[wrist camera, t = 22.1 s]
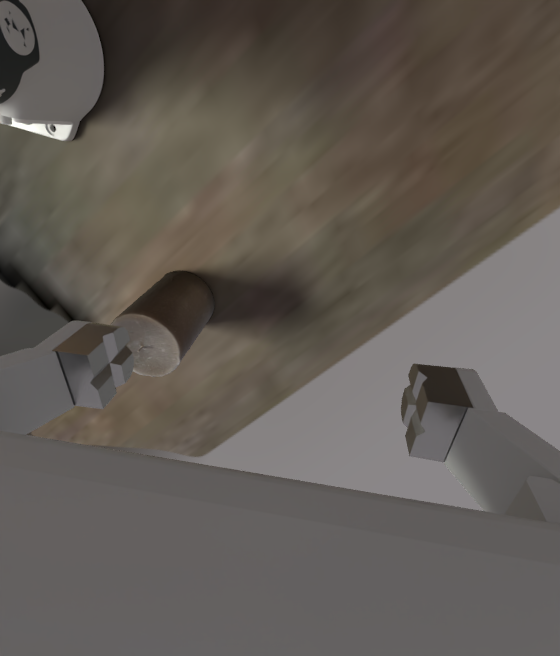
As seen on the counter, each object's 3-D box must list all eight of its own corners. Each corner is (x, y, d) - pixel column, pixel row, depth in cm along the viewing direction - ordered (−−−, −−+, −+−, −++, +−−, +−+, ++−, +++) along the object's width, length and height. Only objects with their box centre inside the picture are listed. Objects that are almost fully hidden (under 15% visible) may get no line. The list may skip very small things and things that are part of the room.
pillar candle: (159, 261, 53) (100, 307, 40) (221, 282, 53) (180, 334, 40) (154, 314, 58) (99, 369, 45) (210, 333, 58) (171, 394, 45)
